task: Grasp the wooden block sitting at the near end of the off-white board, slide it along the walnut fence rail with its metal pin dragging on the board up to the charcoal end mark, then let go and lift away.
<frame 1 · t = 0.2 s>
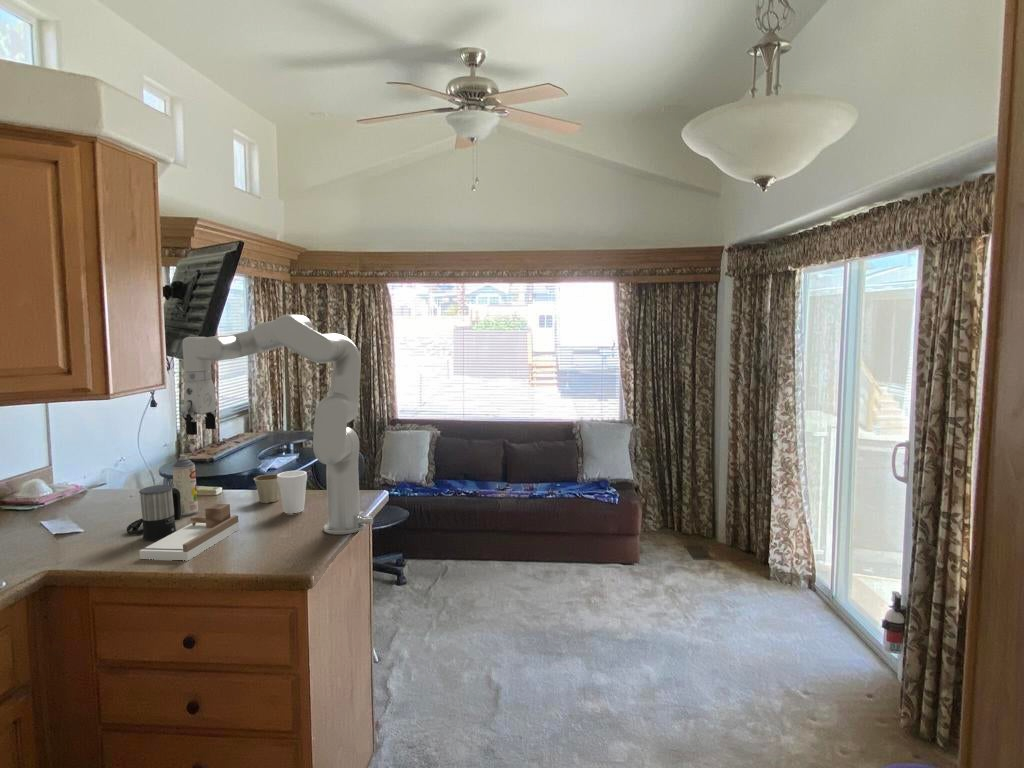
hand: (201, 431, 203), 30 cm above the countertop, tool pointing down, fingers open, 9 cm apart
wooden block: (218, 525, 199), point 2 cm above the countertop, touching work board
aerosol can: (187, 513, 221), on the countertop
milk frother: (151, 535, 200), on the countertop
foam cup: (294, 512, 220), on the countertop
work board: (192, 543, 191), on the countertop
flower pot: (269, 501, 234), on the countertop
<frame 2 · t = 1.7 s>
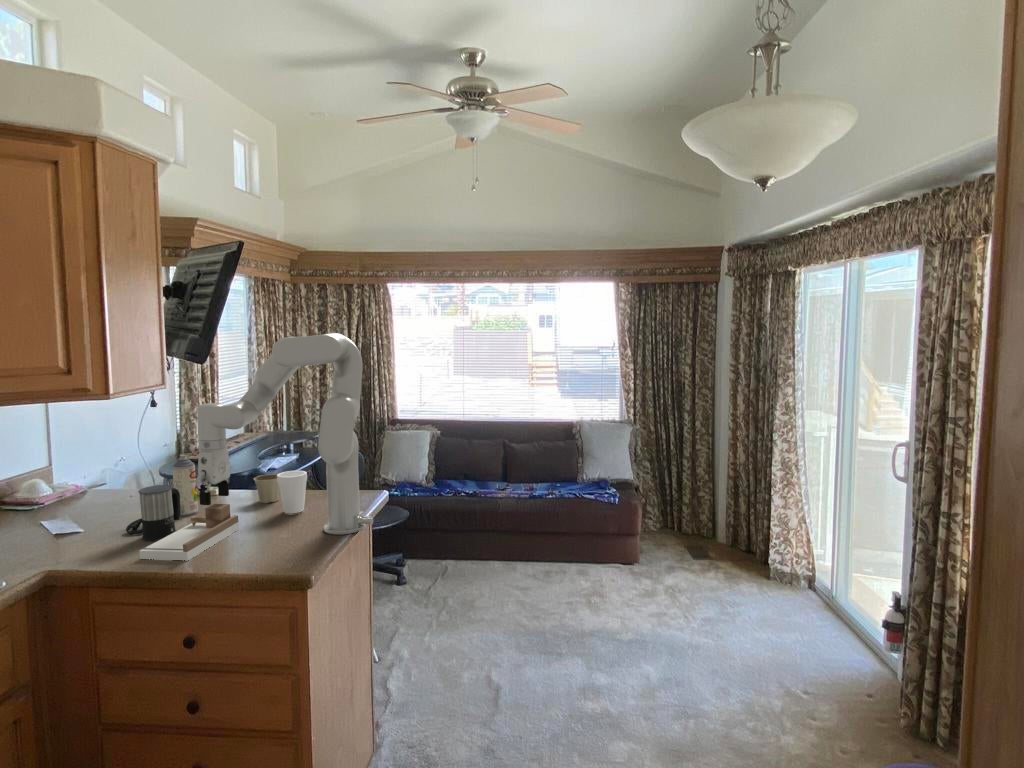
hand: (214, 500, 198), 10 cm above the countertop, tool pointing down, fingers open, 9 cm apart
nothing on the countertop moved.
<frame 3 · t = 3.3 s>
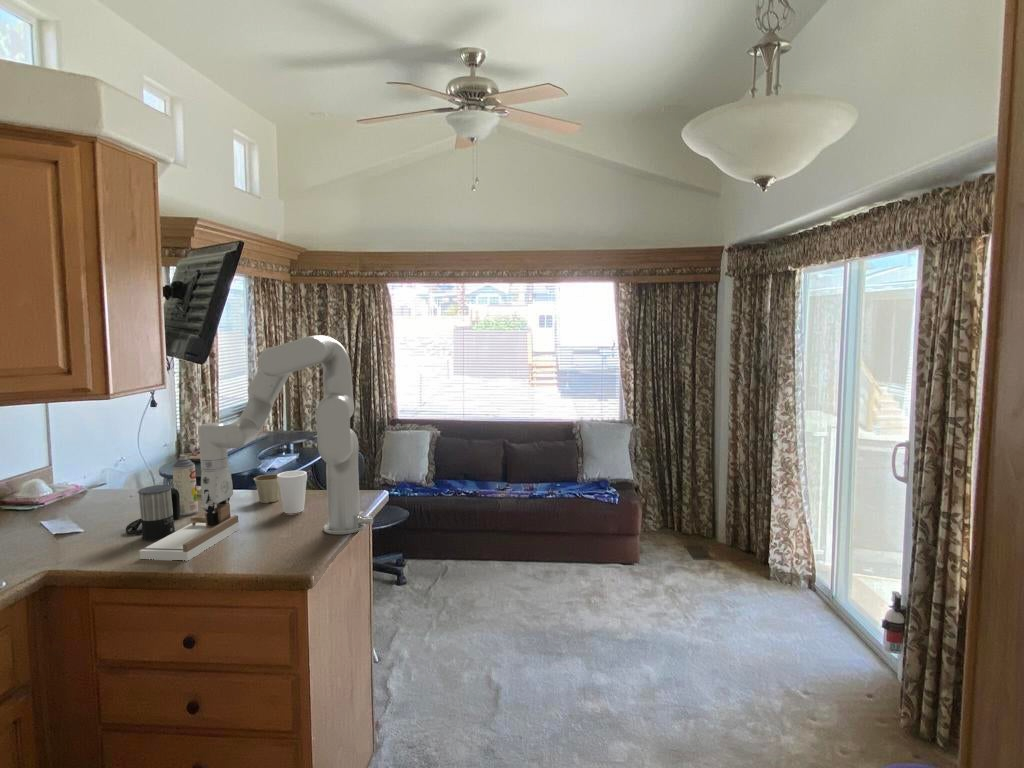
hand: (218, 521, 199), 4 cm above the countertop, tool pointing down, fingers closed on wooden block, 5 cm apart
wooden block: (218, 525, 199), point 3 cm above the countertop, touching gripper, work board
everything else where it was.
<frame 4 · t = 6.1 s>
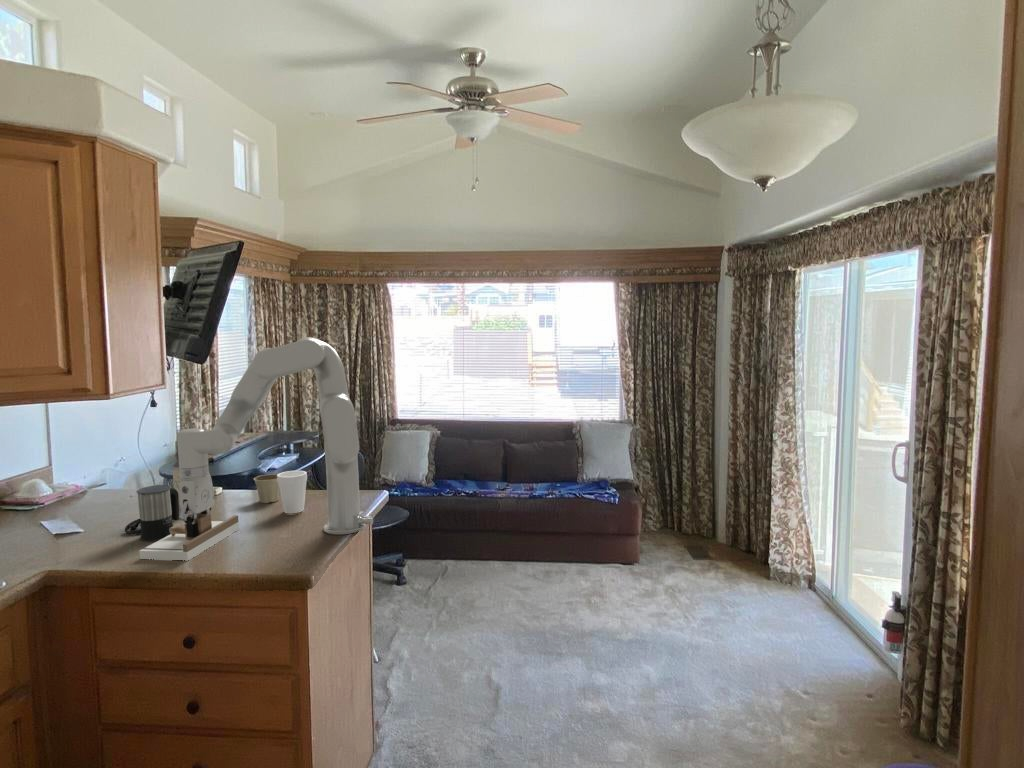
hand: (198, 533, 189), 4 cm above the countertop, tool pointing down, fingers closed on wooden block, 5 cm apart
wooden block: (199, 536, 189), point 3 cm above the countertop, touching gripper
everything else where it was.
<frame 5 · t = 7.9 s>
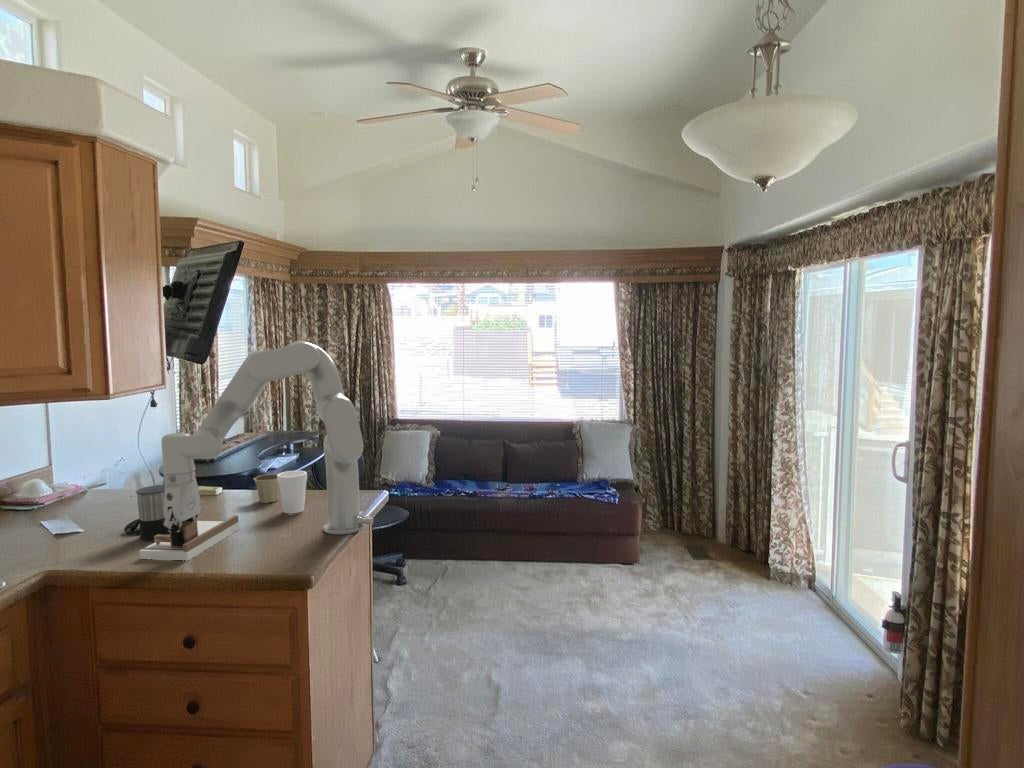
hand: (184, 541, 182), 4 cm above the countertop, tool pointing down, fingers closed on wooden block, 5 cm apart
wooden block: (184, 545, 182), point 3 cm above the countertop, touching gripper, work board
everything else where it was.
when the fingers open (4 cm above the countertop, at t = 8.9 s): wooden block stays where it is, resting on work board.
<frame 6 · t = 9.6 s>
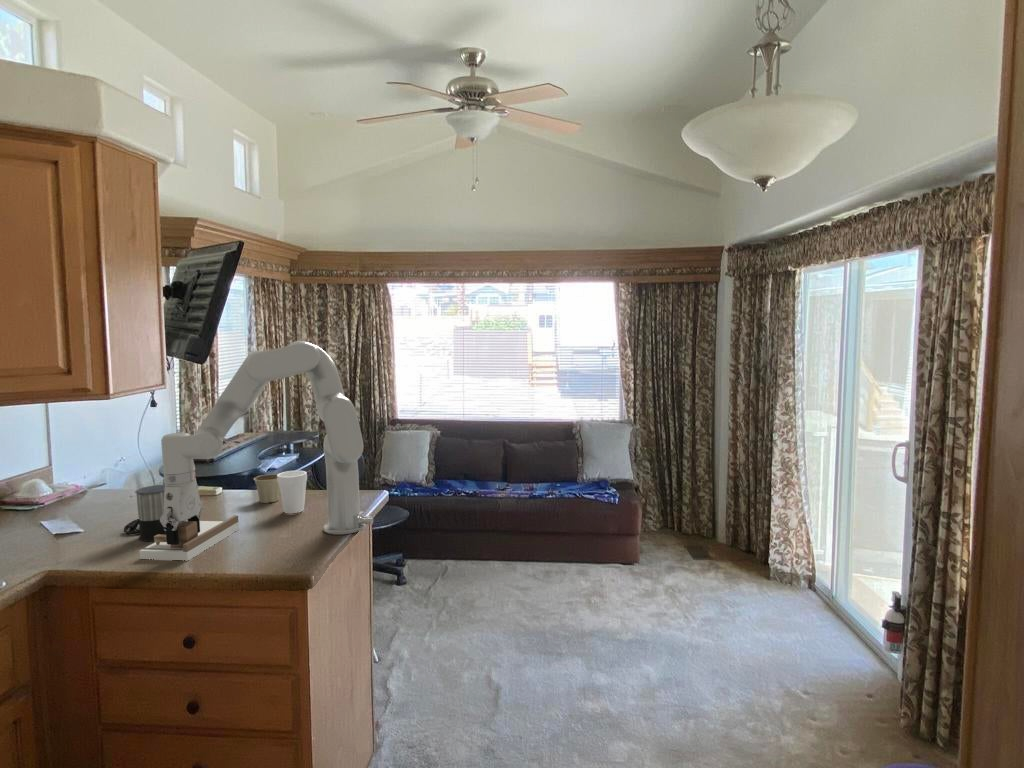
hand: (184, 538, 182), 5 cm above the countertop, tool pointing down, fingers open, 9 cm apart
wooden block: (184, 545, 182), point 2 cm above the countertop, touching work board
everything else where it was.
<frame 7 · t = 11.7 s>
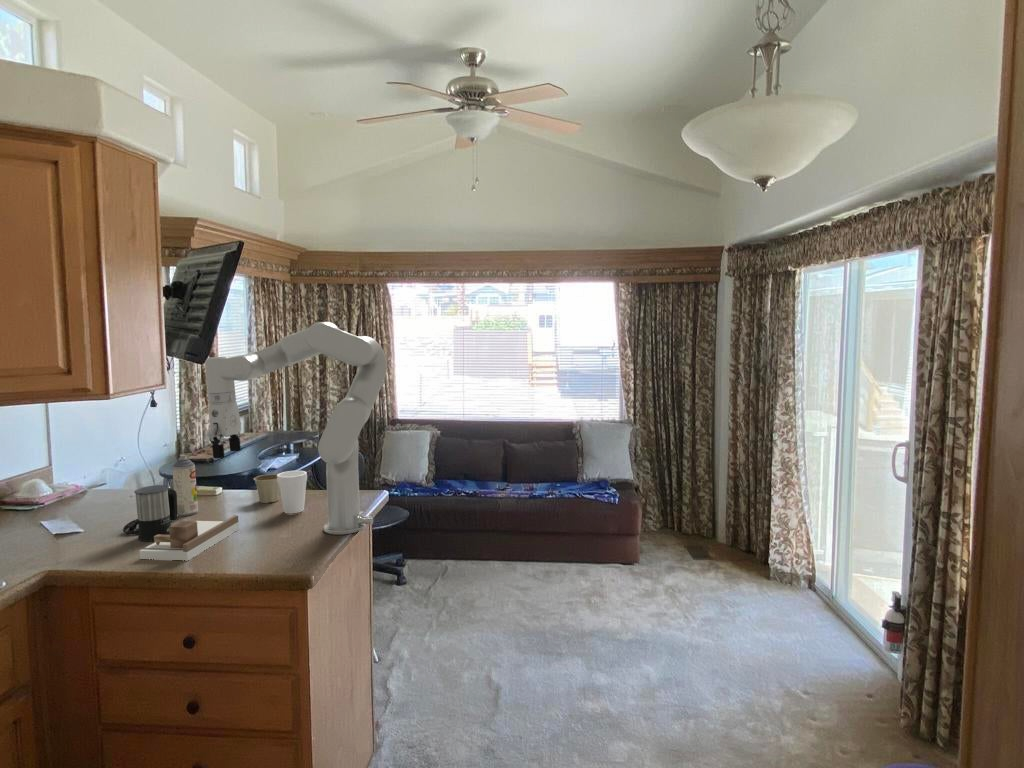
hand: (227, 454, 197), 24 cm above the countertop, tool pointing down, fingers open, 9 cm apart
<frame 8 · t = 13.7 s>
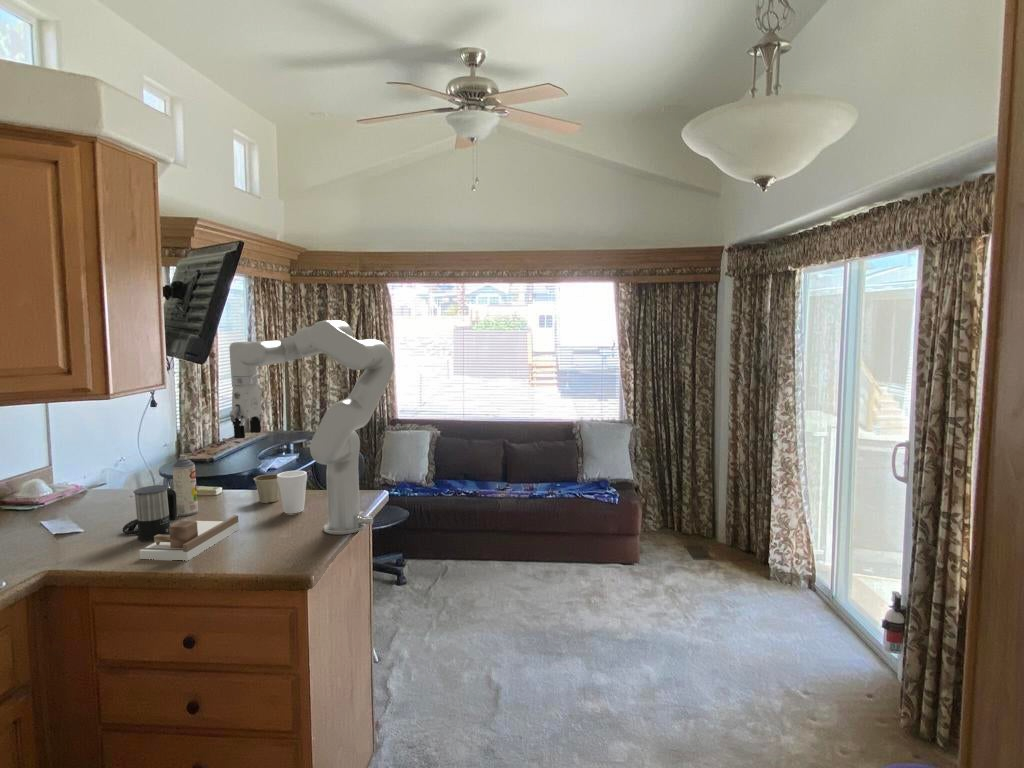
hand: (248, 435, 206), 28 cm above the countertop, tool pointing down, fingers open, 9 cm apart
at the end: wooden block 0.1 cm from the target spot, point 2.5 cm above the countertop; wooden block tilted 0°; wooden block touching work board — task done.
